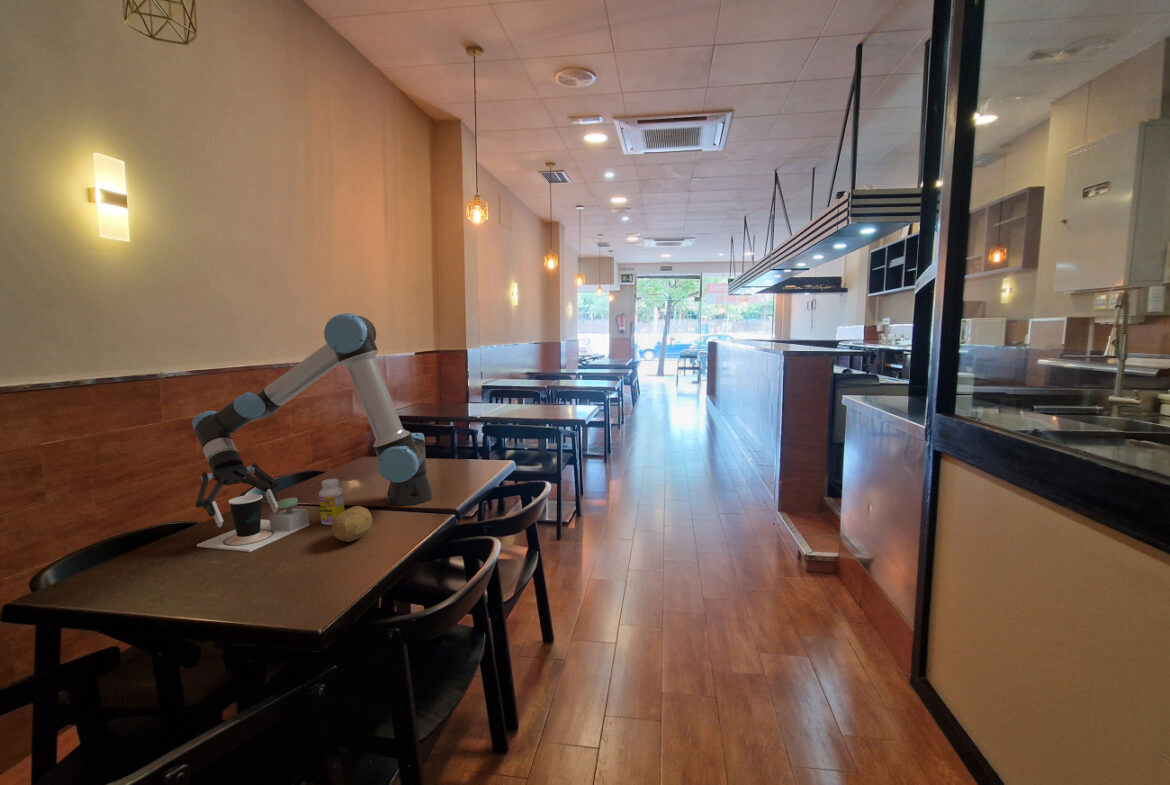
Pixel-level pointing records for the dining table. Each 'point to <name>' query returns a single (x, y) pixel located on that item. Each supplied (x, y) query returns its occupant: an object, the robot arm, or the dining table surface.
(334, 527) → the potato
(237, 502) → the dixie cup
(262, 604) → the dining table surface
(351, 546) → the dining table surface
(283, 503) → the button
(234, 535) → the grey base with block
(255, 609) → the dining table surface
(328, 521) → the supplement bottle
